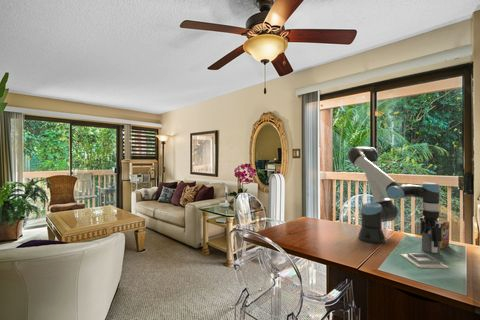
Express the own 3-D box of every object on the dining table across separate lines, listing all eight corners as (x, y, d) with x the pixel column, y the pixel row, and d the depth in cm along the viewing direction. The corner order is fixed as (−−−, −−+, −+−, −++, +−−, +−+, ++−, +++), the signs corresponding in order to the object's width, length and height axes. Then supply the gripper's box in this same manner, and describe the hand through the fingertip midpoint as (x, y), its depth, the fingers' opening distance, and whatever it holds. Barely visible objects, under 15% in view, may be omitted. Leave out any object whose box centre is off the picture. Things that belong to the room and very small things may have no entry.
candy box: (441, 249, 135) (442, 223, 134) (433, 246, 139) (433, 221, 138) (449, 246, 138) (449, 221, 138) (441, 243, 142) (441, 219, 142)
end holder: (400, 255, 127) (400, 251, 127) (427, 255, 126) (427, 251, 126) (418, 267, 113) (418, 263, 113) (448, 268, 112) (448, 263, 112)
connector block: (421, 249, 134) (422, 230, 134) (432, 249, 134) (432, 230, 133) (428, 253, 129) (428, 232, 129) (439, 253, 129) (439, 233, 128)
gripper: (451, 213, 122) (450, 257, 122) (426, 206, 140) (425, 244, 140) (436, 213, 122) (436, 257, 123) (413, 206, 140) (413, 244, 141)
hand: (430, 250), depth 131 cm, fingers closed on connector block, 5 cm apart
